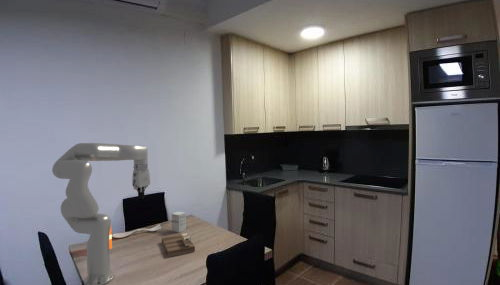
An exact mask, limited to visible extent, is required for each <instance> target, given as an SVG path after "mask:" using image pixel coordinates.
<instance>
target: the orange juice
mask: <svg viewBox="0 0 500 285" xmlns="http://www.w3.org/2000/svg"><path fill="white" fill-rule="evenodd" d="M112 235H113V234H112V227H111V228H110V235H109V245H110V250H111V249H113V242H112V241H113V237H112Z"/></svg>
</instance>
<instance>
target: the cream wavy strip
mask: <svg viewBox="0 0 500 285" xmlns="http://www.w3.org/2000/svg"><path fill="white" fill-rule="evenodd" d="M160 230H163V227H161V223H160V224H157V225H155V226H154V227H152V228H137V229H134V230H131V231H125V232H117V233H113V234H112V238H114V239H122V238H126V237H128V236H130V235H131V234H133V233H136V232H140V231H147V232H152V233H153V232H156V231H160Z"/></svg>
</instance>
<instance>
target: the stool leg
mask: <svg viewBox="0 0 500 285" xmlns="http://www.w3.org/2000/svg"><path fill="white" fill-rule="evenodd" d="M187 233H188V232H182V233H181V232H180V234H181V238H182V240H183V242H184V244H185V246H189V245H191V242H192V241H190V238H189V237H188V235H187Z"/></svg>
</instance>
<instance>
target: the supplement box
mask: <svg viewBox="0 0 500 285" xmlns="http://www.w3.org/2000/svg"><path fill="white" fill-rule="evenodd" d="M186 230H187V213H186V212H184V211H175V212H173V213H171V232H176V233H178V234H181V232H182V233H183V232H184V231H186Z"/></svg>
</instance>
